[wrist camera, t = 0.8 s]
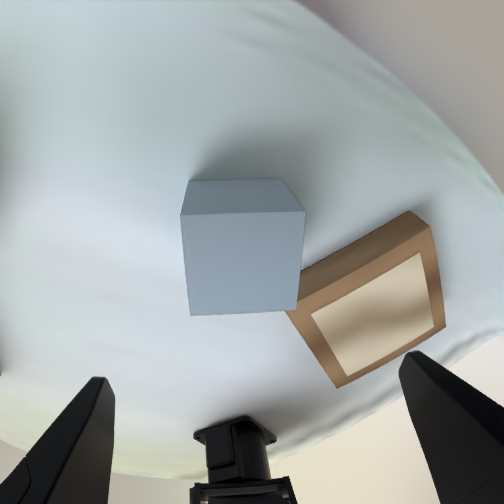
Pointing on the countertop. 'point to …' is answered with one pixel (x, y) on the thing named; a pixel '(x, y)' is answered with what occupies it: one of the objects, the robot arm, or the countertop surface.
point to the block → (241, 246)
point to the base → (371, 300)
